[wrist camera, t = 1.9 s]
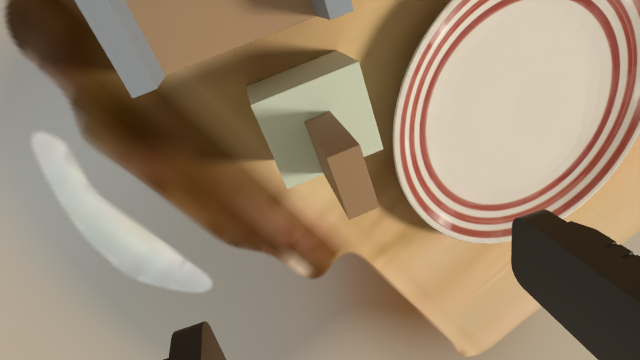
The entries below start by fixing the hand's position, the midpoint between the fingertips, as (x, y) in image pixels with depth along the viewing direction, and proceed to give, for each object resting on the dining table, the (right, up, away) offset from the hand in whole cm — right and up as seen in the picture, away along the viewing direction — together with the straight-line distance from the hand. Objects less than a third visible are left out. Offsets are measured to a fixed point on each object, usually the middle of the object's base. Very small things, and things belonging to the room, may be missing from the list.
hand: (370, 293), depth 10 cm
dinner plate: (+18, +10, +29) cm, 35 cm away
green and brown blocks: (-2, +9, +24) cm, 26 cm away
